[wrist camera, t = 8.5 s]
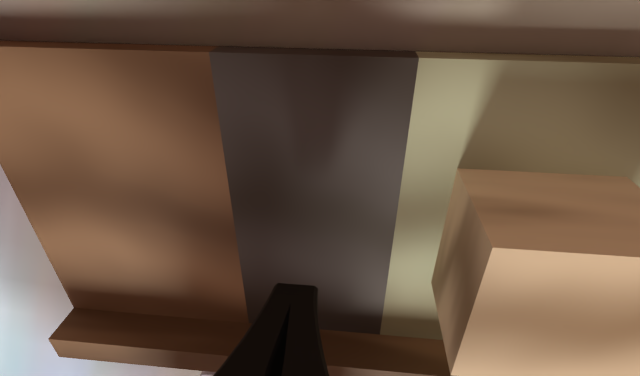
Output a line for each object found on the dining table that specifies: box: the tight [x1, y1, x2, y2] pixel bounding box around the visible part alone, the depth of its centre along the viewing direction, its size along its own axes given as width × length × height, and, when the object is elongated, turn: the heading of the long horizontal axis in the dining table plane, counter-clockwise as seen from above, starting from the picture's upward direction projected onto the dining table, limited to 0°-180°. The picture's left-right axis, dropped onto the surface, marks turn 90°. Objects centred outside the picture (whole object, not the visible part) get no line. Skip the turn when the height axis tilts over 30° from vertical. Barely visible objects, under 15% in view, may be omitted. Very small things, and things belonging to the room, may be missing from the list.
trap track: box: [0, 41, 640, 376], centre depth 16 cm, size 16×32×3 cm, turn 90°
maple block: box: [431, 168, 640, 376], centre depth 13 cm, size 6×6×4 cm
